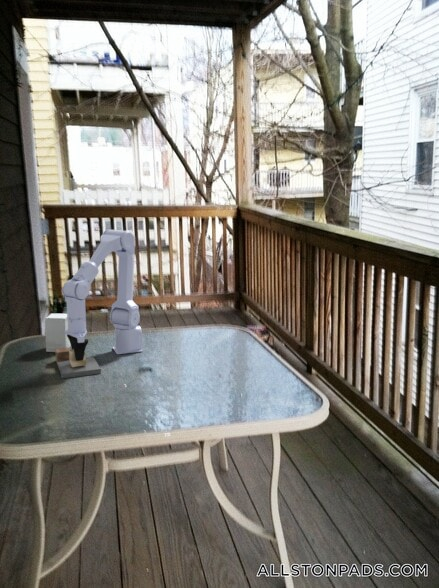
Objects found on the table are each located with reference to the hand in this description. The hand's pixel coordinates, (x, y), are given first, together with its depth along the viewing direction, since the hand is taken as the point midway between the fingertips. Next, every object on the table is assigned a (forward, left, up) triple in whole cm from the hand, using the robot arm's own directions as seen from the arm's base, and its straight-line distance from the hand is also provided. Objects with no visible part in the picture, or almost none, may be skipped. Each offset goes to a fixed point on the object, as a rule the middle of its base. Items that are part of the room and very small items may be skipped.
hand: (78, 357), depth 172 cm
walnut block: (+3, -9, -4) cm, 11 cm away
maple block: (0, 0, -2) cm, 2 cm away
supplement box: (+3, -24, -4) cm, 25 cm away
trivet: (0, 0, -4) cm, 4 cm away
